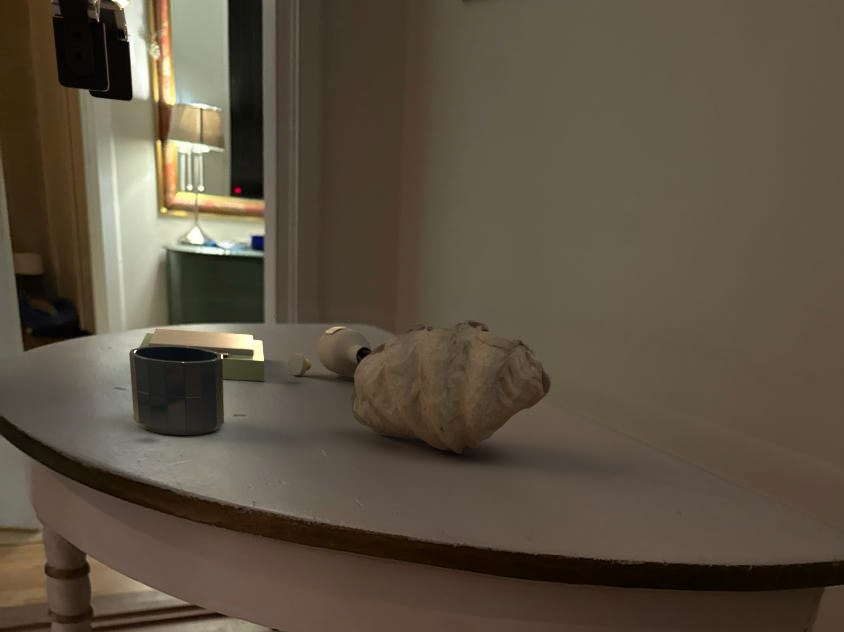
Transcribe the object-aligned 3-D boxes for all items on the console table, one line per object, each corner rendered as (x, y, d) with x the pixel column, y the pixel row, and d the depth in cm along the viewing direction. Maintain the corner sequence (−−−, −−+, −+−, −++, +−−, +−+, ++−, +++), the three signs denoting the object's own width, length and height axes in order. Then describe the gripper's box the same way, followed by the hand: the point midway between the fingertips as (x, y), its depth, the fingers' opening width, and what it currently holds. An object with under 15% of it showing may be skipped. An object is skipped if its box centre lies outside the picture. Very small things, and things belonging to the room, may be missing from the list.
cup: (130, 435, 69) (125, 359, 66) (139, 413, 75) (134, 343, 72) (223, 438, 71) (221, 364, 68) (224, 417, 76) (223, 348, 74)
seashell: (469, 478, 67) (482, 339, 63) (337, 431, 76) (341, 306, 71) (551, 459, 75) (569, 333, 70) (423, 418, 83) (431, 304, 79)
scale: (137, 374, 88) (135, 346, 87) (147, 352, 98) (146, 327, 97) (264, 381, 91) (264, 354, 90) (261, 359, 101) (261, 334, 100)
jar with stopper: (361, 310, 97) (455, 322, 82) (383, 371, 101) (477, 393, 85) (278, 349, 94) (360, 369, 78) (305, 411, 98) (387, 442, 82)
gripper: (45, -175, 66) (71, 97, 74) (-33, -277, 51) (10, 77, 59) (153, -157, 68) (168, 107, 75) (108, -252, 52) (132, 91, 60)
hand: (99, 94), depth 67 cm, fingers open, 9 cm apart
